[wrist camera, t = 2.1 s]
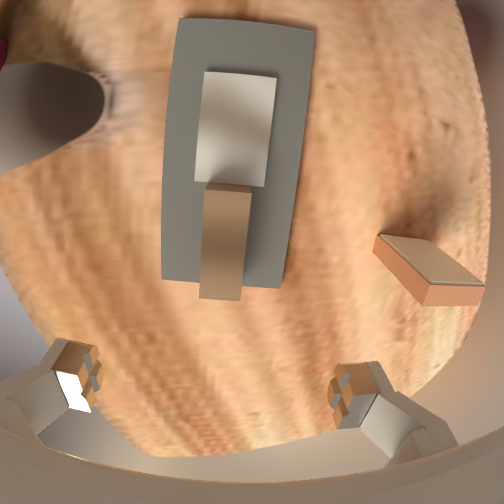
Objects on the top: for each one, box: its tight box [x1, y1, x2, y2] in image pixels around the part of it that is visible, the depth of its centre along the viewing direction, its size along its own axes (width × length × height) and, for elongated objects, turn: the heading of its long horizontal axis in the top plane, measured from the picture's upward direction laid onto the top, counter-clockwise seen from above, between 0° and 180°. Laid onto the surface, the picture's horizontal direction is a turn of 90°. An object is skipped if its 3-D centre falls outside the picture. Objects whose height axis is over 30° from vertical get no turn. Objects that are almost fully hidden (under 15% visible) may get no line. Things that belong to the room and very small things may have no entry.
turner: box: [194, 72, 277, 301], centre depth 21 cm, size 16×5×3 cm, turn 174°
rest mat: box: [161, 18, 316, 288], centre depth 22 cm, size 21×10×1 cm, turn 174°
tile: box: [373, 234, 485, 306], centre depth 22 cm, size 2×6×9 cm, turn 84°
